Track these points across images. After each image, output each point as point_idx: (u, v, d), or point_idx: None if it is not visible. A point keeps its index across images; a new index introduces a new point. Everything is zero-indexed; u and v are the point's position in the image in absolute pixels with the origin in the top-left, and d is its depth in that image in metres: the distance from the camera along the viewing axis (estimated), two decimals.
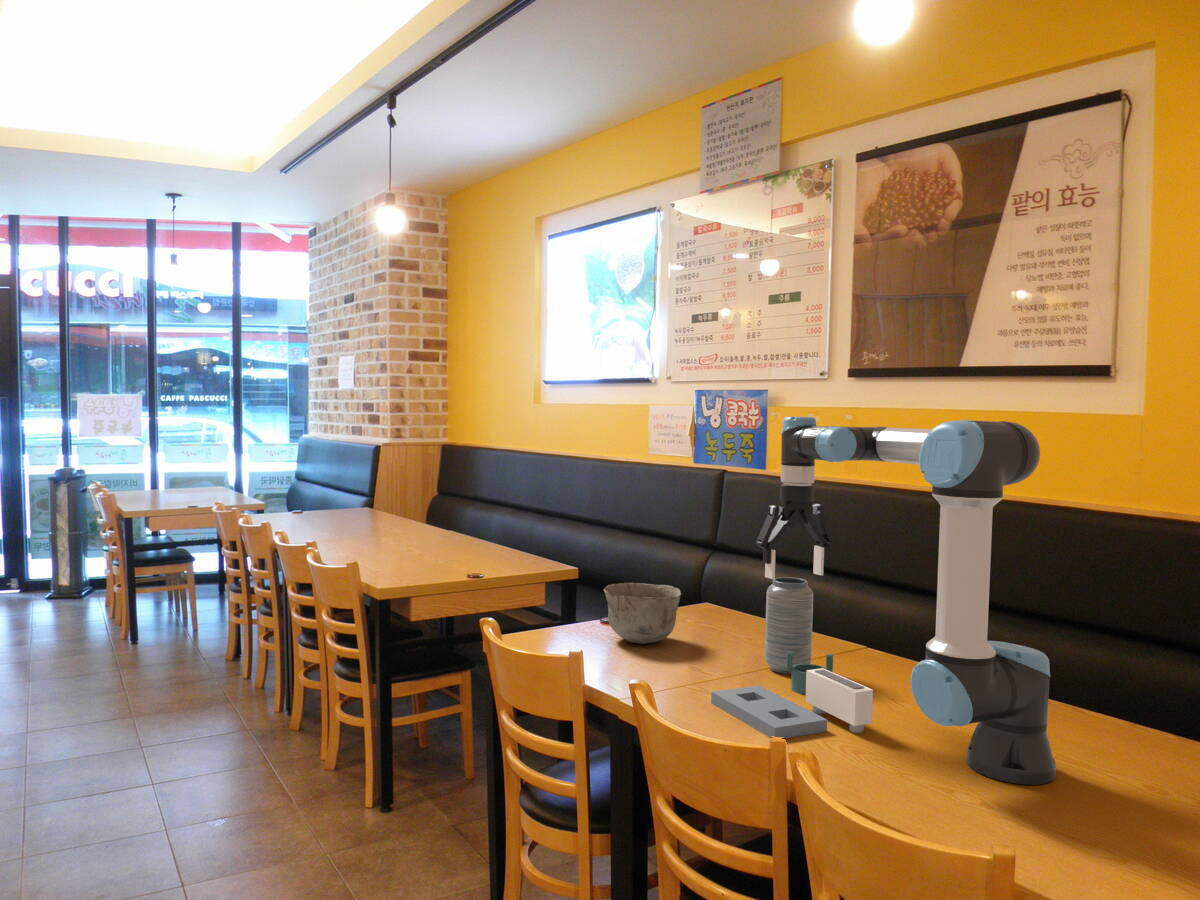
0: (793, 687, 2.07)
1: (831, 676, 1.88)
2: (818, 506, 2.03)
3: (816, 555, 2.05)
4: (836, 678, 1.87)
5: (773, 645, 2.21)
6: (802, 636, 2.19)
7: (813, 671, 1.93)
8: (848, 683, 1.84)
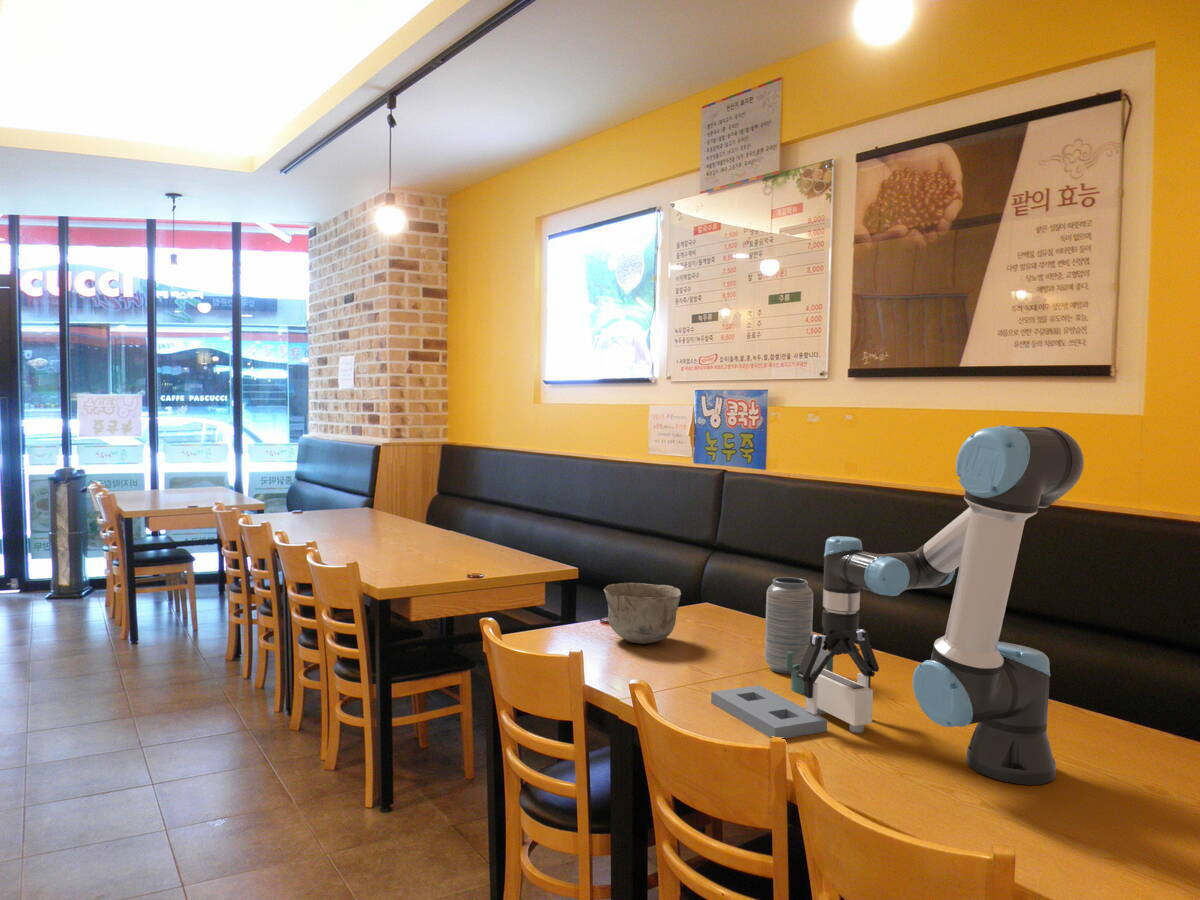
0: (793, 687, 2.07)
1: (831, 676, 1.88)
2: (863, 632, 1.88)
3: None
4: (836, 678, 1.87)
5: (773, 645, 2.21)
6: (802, 636, 2.19)
7: None
8: (848, 683, 1.84)
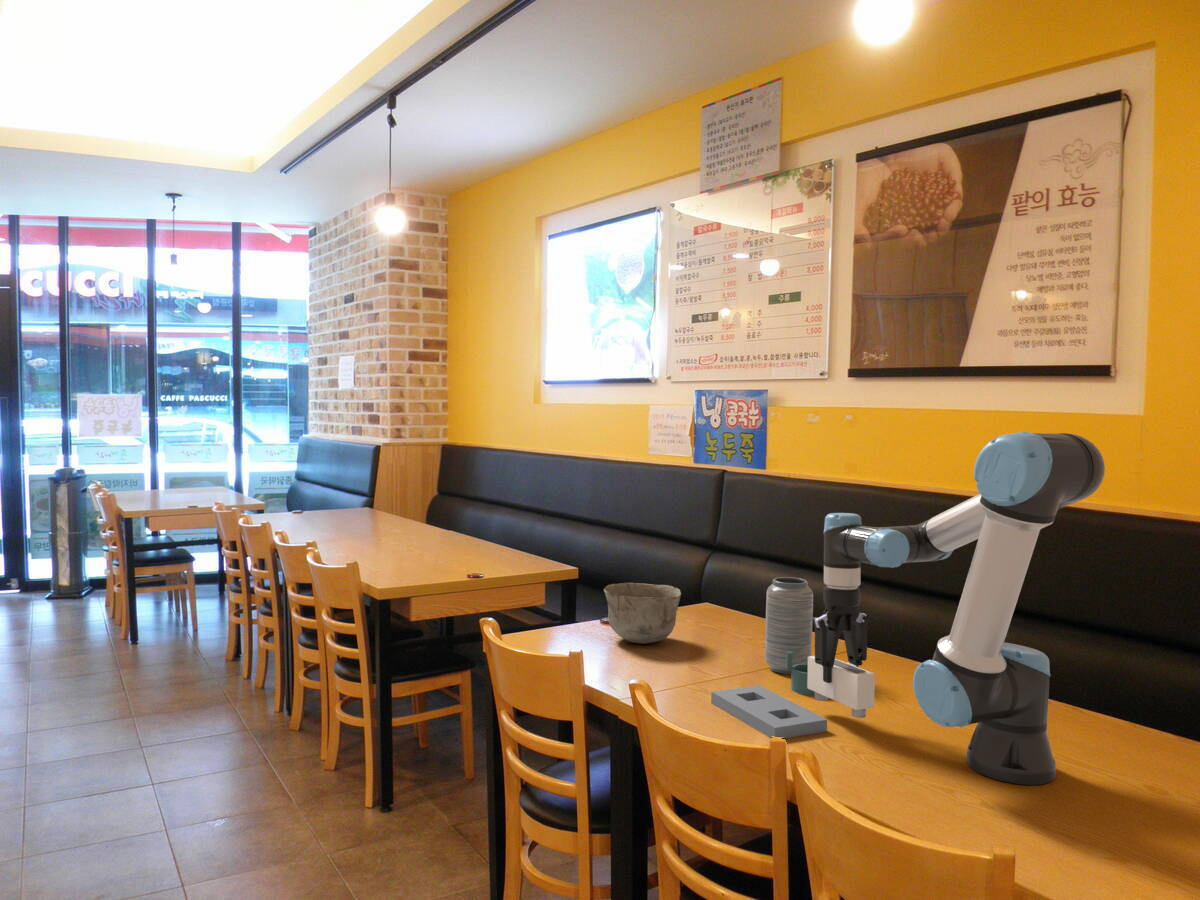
0: (793, 687, 2.07)
1: None
2: (864, 615, 1.88)
3: None
4: (838, 663, 1.87)
5: (773, 645, 2.21)
6: (802, 636, 2.19)
7: (814, 657, 1.92)
8: (850, 668, 1.83)
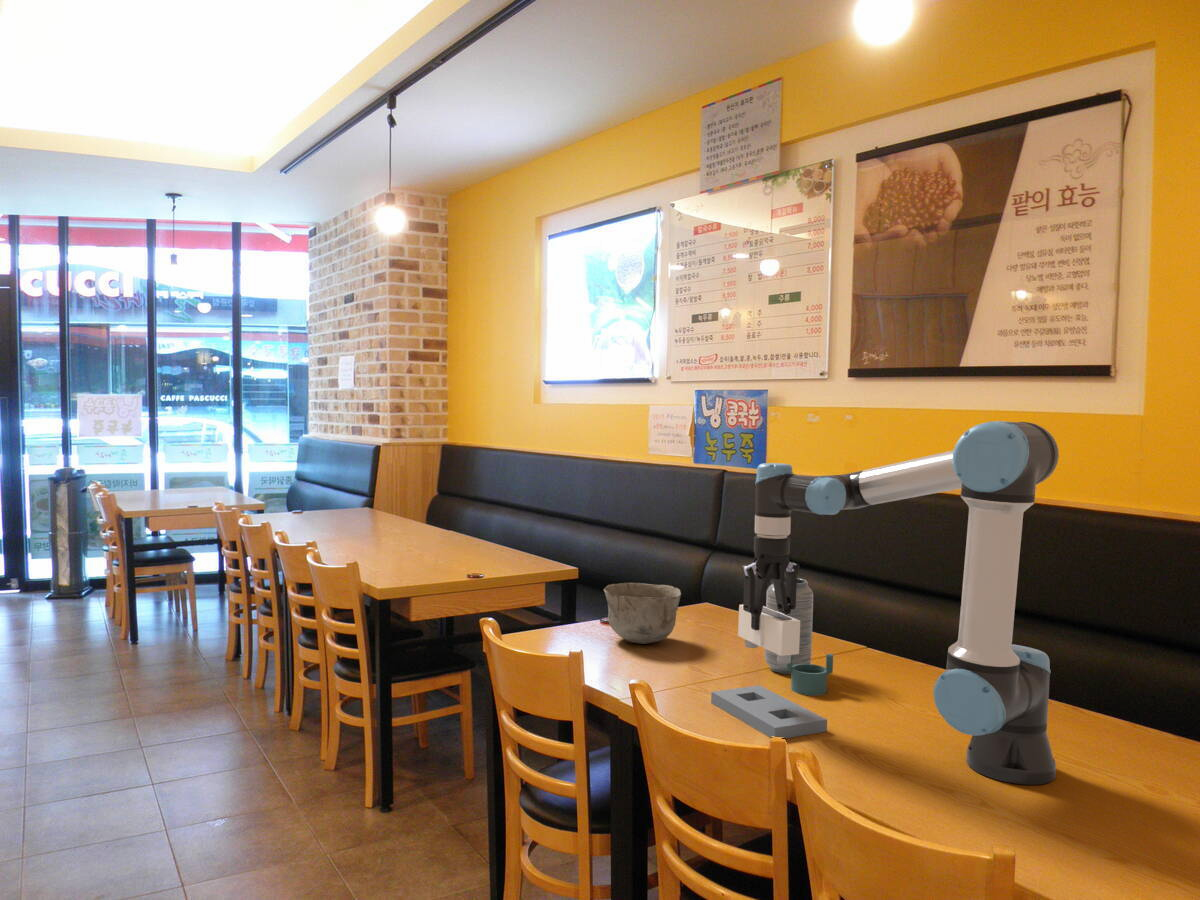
0: (793, 687, 2.07)
1: (762, 609, 1.90)
2: (794, 564, 1.90)
3: None
4: (766, 611, 1.89)
5: None
6: (802, 636, 2.19)
7: None
8: (777, 615, 1.85)
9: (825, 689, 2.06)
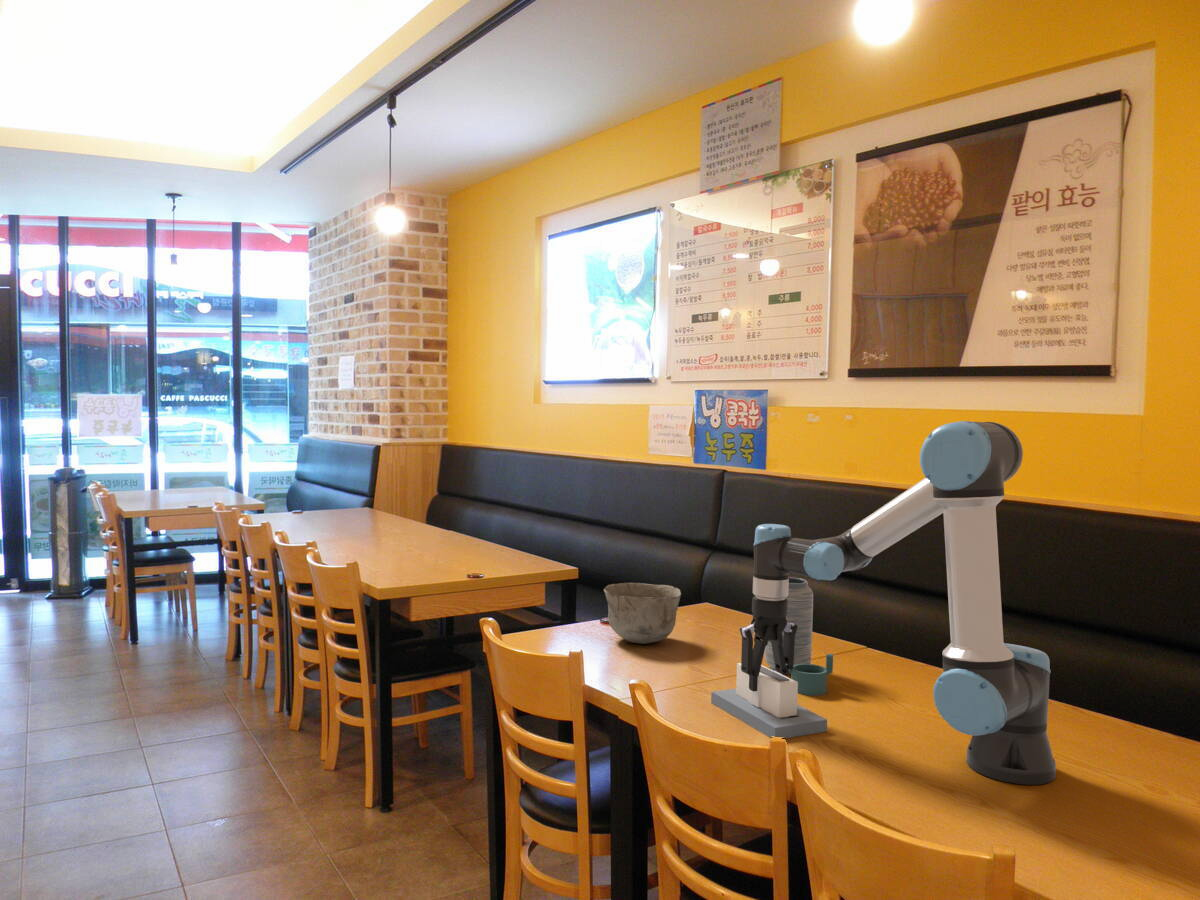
0: None
1: None
2: (792, 625, 1.90)
3: None
4: (764, 671, 1.89)
5: None
6: (802, 636, 2.19)
7: None
8: (774, 675, 1.86)
9: (825, 689, 2.06)
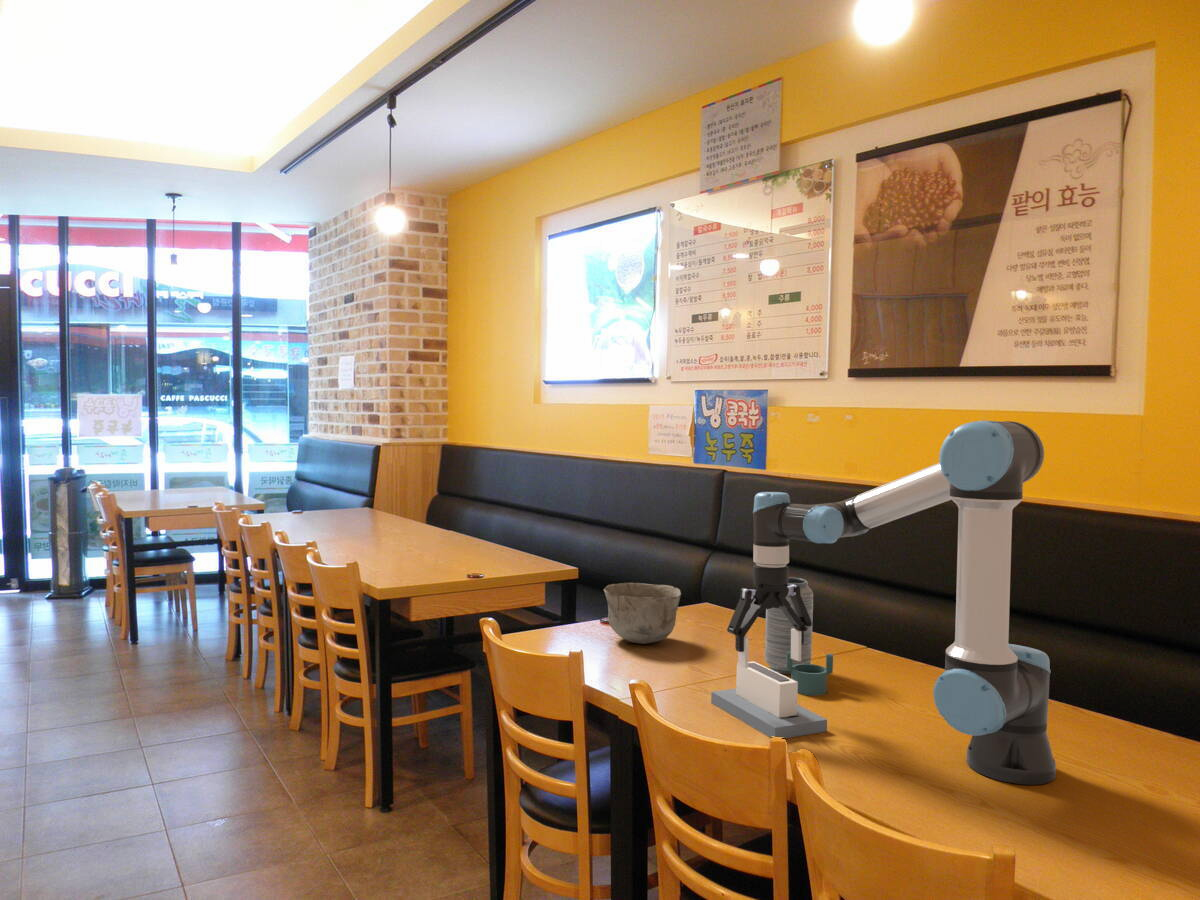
0: None
1: (759, 669, 1.91)
2: (794, 587, 1.90)
3: (793, 639, 1.92)
4: (764, 671, 1.89)
5: (773, 645, 2.21)
6: None
7: None
8: (774, 675, 1.86)
9: (825, 689, 2.06)
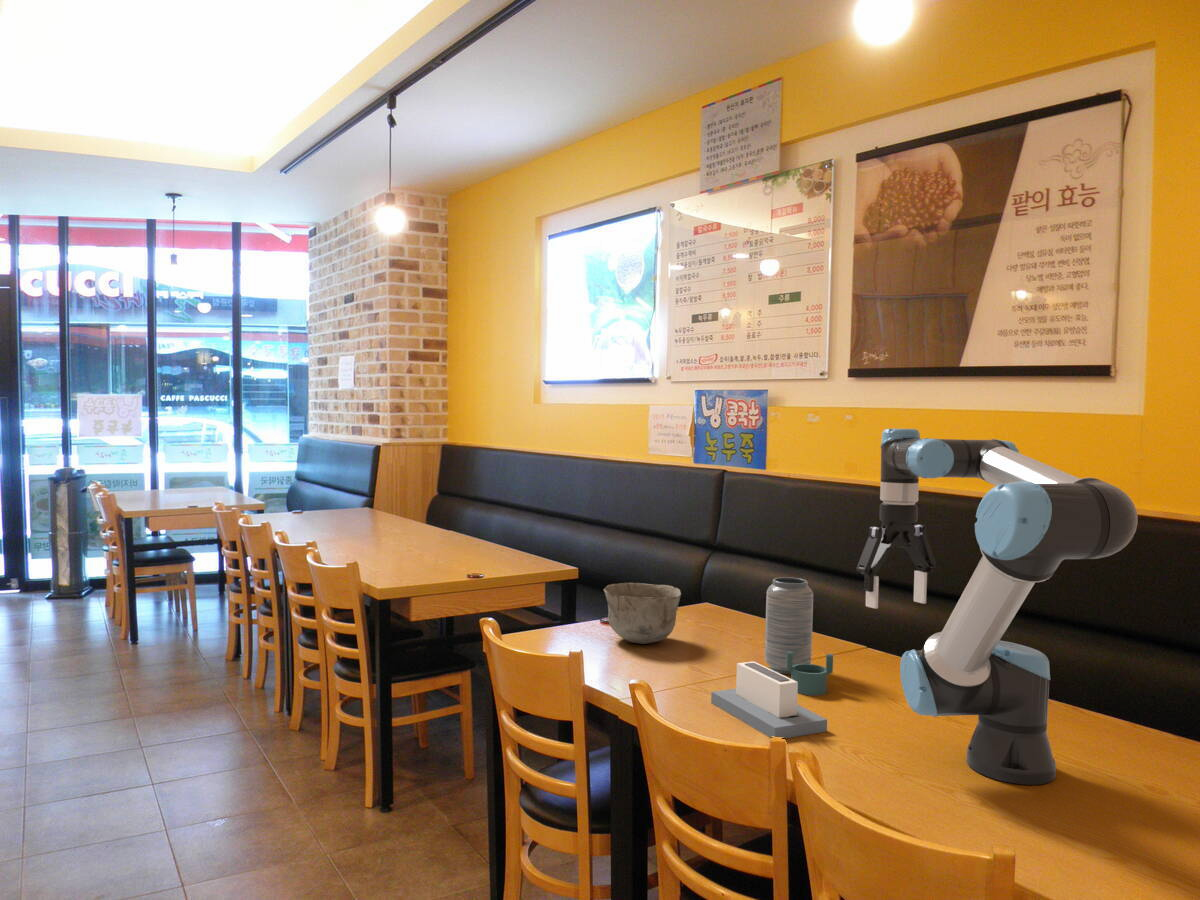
0: None
1: (759, 669, 1.91)
2: (920, 527, 1.84)
3: (917, 581, 1.86)
4: (764, 671, 1.89)
5: (773, 645, 2.21)
6: (802, 636, 2.19)
7: (743, 664, 1.95)
8: (774, 675, 1.86)
9: (825, 689, 2.06)
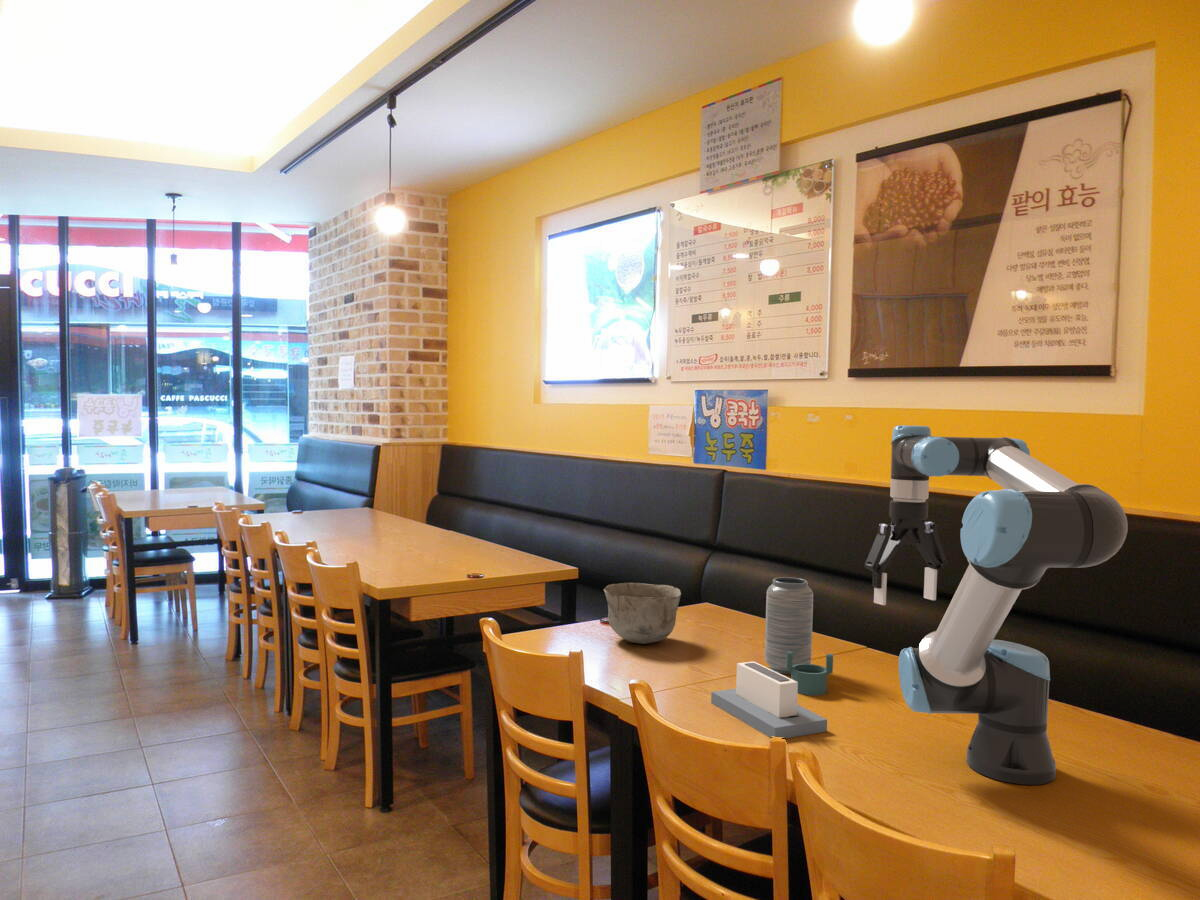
0: None
1: (759, 669, 1.91)
2: (931, 524, 1.84)
3: (927, 578, 1.86)
4: (764, 671, 1.89)
5: (773, 645, 2.21)
6: (802, 636, 2.19)
7: (743, 664, 1.95)
8: (774, 675, 1.86)
9: (825, 689, 2.06)
